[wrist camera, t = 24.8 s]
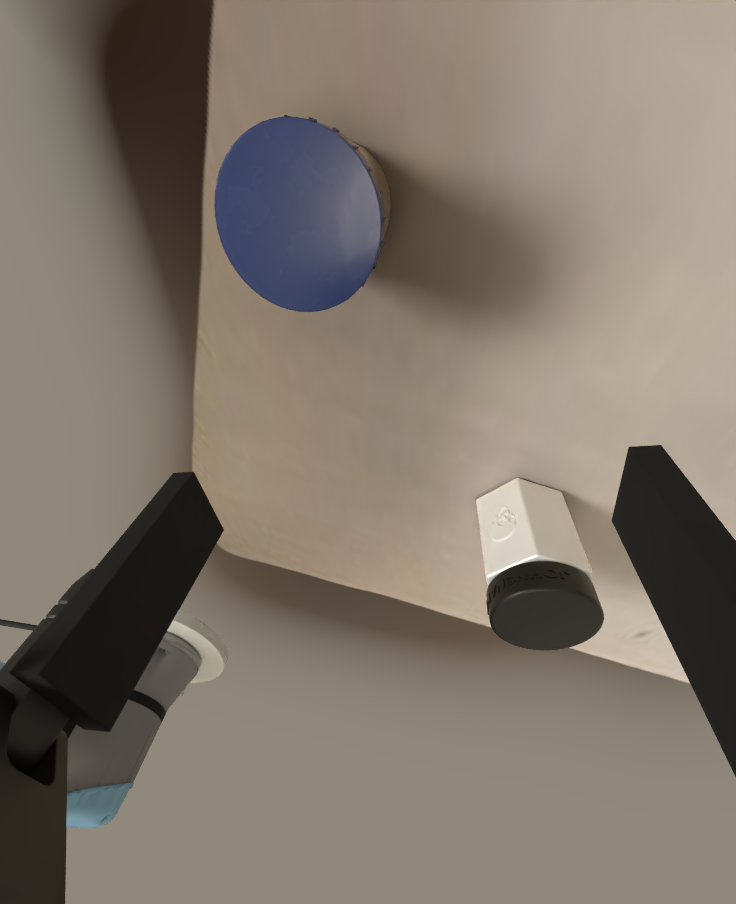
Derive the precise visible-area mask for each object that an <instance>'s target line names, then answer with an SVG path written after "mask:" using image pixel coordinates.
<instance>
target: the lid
mask: <svg viewBox="0 0 736 904" xmlns="http://www.w3.org/2000/svg"><path fill="white" fill-rule="evenodd" d="M339 131H340V130H339V129H336V128H330V127H329V126H326V125H324V124H321V123H318V122H317V120H316V119H313V118H310V117H309V120H308V119H304V118H298V117H291V116H287V115H284V117H279V118H273V119H269V120H266V121H262V122H261V123H259V124H257V125H255V126H254V127H252V128H250V129H249V130H247V131H246V132H245V133H244V134H243V135H241V136H240V137H239V138H238V140H237V141H236V142H235V143H234V144H233V145H232V147H231V148H230V150H229V152H228V153H227V155H226V156H225V159H224V161H223V163H222V166H221V168H220V171H219V175H218V178H217V183H216V190H215V218H216V223H217V229H218V233H219V236H220V239H221V243H222V245H223V247H224V250H225V252H226V254H227V256H228V258H229V260H230V262H231V264H232V265H233V267H234V268H235V270H236V271H237V273H238V274H239V275H240V276H241V278H242V279H243V280H244V281H245V282H246V283H247V284H248V285H249V286H250V287H251V288H252V289H253V290H254V291H255V292H256V293H258V294H259V295H260V296H262V297H263V298H265V299H266V300H268V301H270V302H272V303H274V304H276V305H278V306H280V307H283V308H286V309H289V310H295V311H302V312H313V311H321V310H325V309H329V308H332V307H334V306H337V305H339V304H340V303H342V302H344V301H346V300H348V299H349V298H350V297H351V296H352V295H353V294H354V293H355V292H356V291H357V290H358V289H359V288H360V287H361V286H362V287H363V286H364V284H365V282H366V279H367V278H368V276H369V274H370V272H371V271H372V269H375V267H376V265H377V263H378V262H376V261H377V259H378V256H379V254H380V250H381V247H382V246H383V244H384V241H383V237H384V230H385V221H386V219H387V218H386V217H385V213H384V204H383V199H382V194H383V191H382V192H381V191H380V187H379V184H378V181H377V179H376V177H375V175H374V172H373V170H374V168H373V167H370V165H369V163H368V162H367V160H366V158H365V157H364V156H363V155H362V153H361V152H360V151H359V149H358V148H359V146H358V145H354V144H353V143H352V142H351V141H350V140H349V139H347V138H346V137H345V136H343V135H342V134H341V133H339Z"/></svg>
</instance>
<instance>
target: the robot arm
mask: <svg viewBox="0 0 736 904" xmlns="http://www.w3.org/2000/svg"><path fill="white" fill-rule="evenodd" d="M612 522H613V524H614V526H615V528H616V531H617V533H618V535H619V537H620V539H621V541H622V543H623V545H624V547H625V549H626V551H627V553H628V555H629V557H630V559H631V562H632V564H633V566H634V568H635V570H636V572H637V574H638V576H639V578H640V580H641V582H642V584H643V586H644V588H645V590H646V593H647V595H648V597H649V599H650V601H651V603H652V605H653V607H654V609H655V611H656V613H657V615H658V617H659V619H660V621H661V624H662V626H663V628H664V630H665V632H666V634H667V636H668V638H669V640H670V642H671V644H672V646H673V648H674V650H675V652H676V655H677V657H678V659H679V661H680V663H681V665H682V667H683V669H684V671H685V673H686V675H687V677H688V679H689V681H690V683H691V686H692V688H693V690H694V692H695V694H696V696H697V698H698V700H699V702H700V704H701V706H702V708H703V710H704V712H705V714H706V717H707V719H708V721H709V723H710V724H711V727H712V729H713V731H714V733H715V735H716V737H717V739H718V741H719V743H720V745H721V748H722V750H723V752H724V754H725V756H726V758H727V760H728V762H729V764H730V766H731V768H732V770H733V772H734V774H735V776H736V541H735V539H734V538H733V537H732V536H731V534H730V533H729V532H728V530H727V529H726V528H725V527H724V525H723V524H722V523H721V521H720V520H719V519H718V518H717V516H716V515H715V514H714V513H713V511H712V510H711V509H710V507H709V506H708V505H707V504H706V502H705V501H704V500H703V498H702V497H701V496H700V495H699V493H698V492H697V491H696V489H695V488H694V487H693V486H692V484H691V483H690V482H689V480H688V479H687V478H686V477H685V475H684V474H683V473H682V471H681V470H680V469H679V468H678V466H677V465H676V464H675V463H674V461H673V460H672V459H671V457H670V456H669V455H668V454H667V452H666V451H665V450H664V448H663V447H662V446H661V445H655V446H638V447H629V449H628V453H627V457H626V461H625V466H624V470H623V474H622V479H621V483H620V487H619V492H618V496H617V500H616V504H615V509H614V513H613V517H612ZM223 531H224V529H223V527H222V525H221V523H220V521H219V520H218V518H217V516H216V514H215V512H214V510H213V508H212V506H211V504H210V502H209V500H208V498H207V497H206V495H205V493H204V491H203V489H202V487H201V485H200V483H199V481H198V479H197V477H196V475H195V473H194V472H183V473H173V474H172V476H171V477H170V478H169V479H168V480H167V482H166V483H165V484H164V485H163V487H162V488H161V489H160V490H159V491H158V492H157V494H156V495H155V496H154V497H153V499H152V500H151V501H150V502H149V504H148V505H147V506H146V507H145V508H144V509H143V511H142V512H141V513H140V514H139V516H138V517H137V518H136V519H135V521H134V522H133V523H132V524H131V525H130V526H129V528H128V529H127V530H126V531H125V533H124V534H123V535H122V536H121V537H120V539H119V540H118V541H117V542H116V544H115V545H114V546H113V547H112V548H111V550H110V551H109V552H108V553H107V554H106V556H105V557H104V558H103V559H102V561H101V562H100V563H99V564H98V566H96V568H95V569H91V570H90V571H89V572H87V573H86V574H85V575H84V576H83V577H81V578H80V579H79V580H78V581H76V582H75V583H74V584H73V585H72V586H71V587H70V588H69V589H68V591H67V592H66V593H65V594H64V595H63V596H62V598H61V599H60V600H59V601H58V602H59V603H58V605H55V606H54V607H53V608H52V609H51V611H50V612H49V613H48V614H47V615H46V616H47V618H46V619H43V620H42V621H41V622H40V624H39V625H38V626H37V625H31V624H25V623H18V622H13V621H6V620H1V619H0V625H2V626H9V627H15V628H21V629H27V630H33V632H32V633H31V634H30V635H29V637H28V638H27V639H26V640H25V641H24V643H23V644H22V645H21V646H20V647H19V649H18V650H17V651H16V652H15V653H14V654H13V656H12V657H11V658H10V659H9V660H8V662H7V663H6V664H5V663H2V662H0V904H65V874H66V827H68V828H69V827H70V828H96V827H100V826H103V825H105V824H107V823H108V822H110V821H111V820H112V819H113V818H114V817H115V815H116V814H117V812H118V810H119V808H120V806H121V804H122V802H123V801H124V799H125V797H126V795H127V793H128V791H129V789H131V788H132V786H133V781H134V780H135V777H136V775H137V773H138V771H139V769H140V767H141V765H142V763H143V761H144V758H145V756H146V754H147V752H148V750H149V748H150V746H151V744H152V742H153V739H154V737H155V735H156V733H157V731H158V729H159V727H160V725H161V723H162V720H163V718H164V716H165V714H166V712H167V710H168V708H169V707H170V706H171V705H172V704H173V702H174V701H175V700H176V699H177V697H178V696H179V695H180V694H183V693H184V691H185V689H186V686H187V685H188V683H190V682H191V681H192V680H193V679H194V677H195V676H196V675H197V673H198V670H199V668H200V666H201V663H202V659H201V656H200V654H199V652H198V651H197V650H196V649H195V648H194V647H193V646H192V645H191V644H190V643H189V642H187V641H186V640H184V639H183V638H181V637H179V636H177V635H175V634H173V633H171V632H169V631H167V630H168V628H169V626H170V625H171V623H172V621H173V619H174V617H175V616H176V614H177V612H178V610H179V609H180V607H181V605H182V603H183V602H184V600H185V598H186V596H187V594H188V592H189V591H190V589H191V587H192V585H193V584H194V582H195V580H196V578H197V577H198V575H199V573H200V571H201V569H202V568H203V566H204V564H205V563H206V561H207V559H208V557H209V555H210V554H211V552H212V550H213V548H214V547H215V545H216V543H217V541H218V539H219V538H220V536H221V534H222V532H223Z"/></svg>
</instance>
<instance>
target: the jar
mask: <svg viewBox="0 0 736 904" xmlns="http://www.w3.org/2000/svg"><path fill="white" fill-rule="evenodd" d="M476 505H477V513H478V521H479V529H480V537H481V544H482V552H483V560H484V568H485V576H486V583H487V611H488V615H489V618H490V624H491V627H492V629H493V630H494V632H495V633H496V634H497V635H498V636H499V637H500V638H502V639H503V640H505V641H507V642H508V643H510V644H513V645H515V646H519V647H522V648H526V649H533V650H558V649H564V648H568V647H572V646H575V645H578V644H580V643H583V642H585V641H587V640H588V639H590V638H591V637H593V636H594V635H595V634H596V633H597V632H598V631H599V630H600V628H601V626H602V624H603V620H604V614H603V610H602V607H601V604H600V602H599V599H598V597H597V594H596V591H595V589H594V586H593V583H592V569H591V566H590V564H589V561H588V558H587V556H586V553H585V551H584V548H583V546H582V543H581V540H580V538H579V535H578V533H577V530H576V528H575V525H574V522H573V520H572V517H571V515H570V512H569V510H568V507H567V504H566V502H565V499H564V497H563V494H562V492H561V491H558V490H555V489H551V488H548V487H545V486H542V485H538V484H535V483H532V482H529V481H526V480H523V479H519V478H515V479H513V480H512V481H510V482H508V483H506V484H504V485H502V486H500V487H499V488H497V489H495V490H493V491H491V492H489V493H488V494H486V495H484V496H482V497H480V498H478V499H477V500H476Z"/></svg>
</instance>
